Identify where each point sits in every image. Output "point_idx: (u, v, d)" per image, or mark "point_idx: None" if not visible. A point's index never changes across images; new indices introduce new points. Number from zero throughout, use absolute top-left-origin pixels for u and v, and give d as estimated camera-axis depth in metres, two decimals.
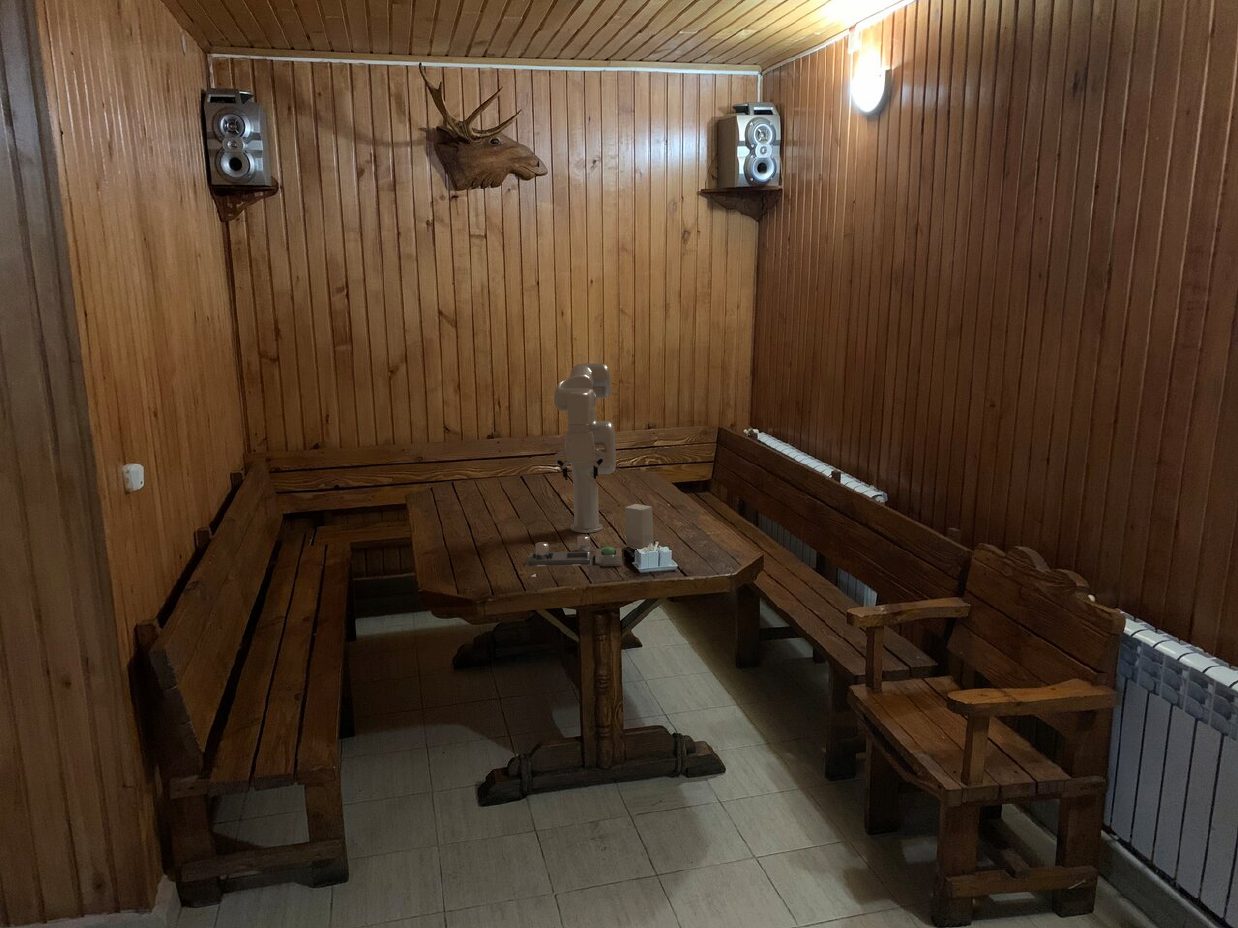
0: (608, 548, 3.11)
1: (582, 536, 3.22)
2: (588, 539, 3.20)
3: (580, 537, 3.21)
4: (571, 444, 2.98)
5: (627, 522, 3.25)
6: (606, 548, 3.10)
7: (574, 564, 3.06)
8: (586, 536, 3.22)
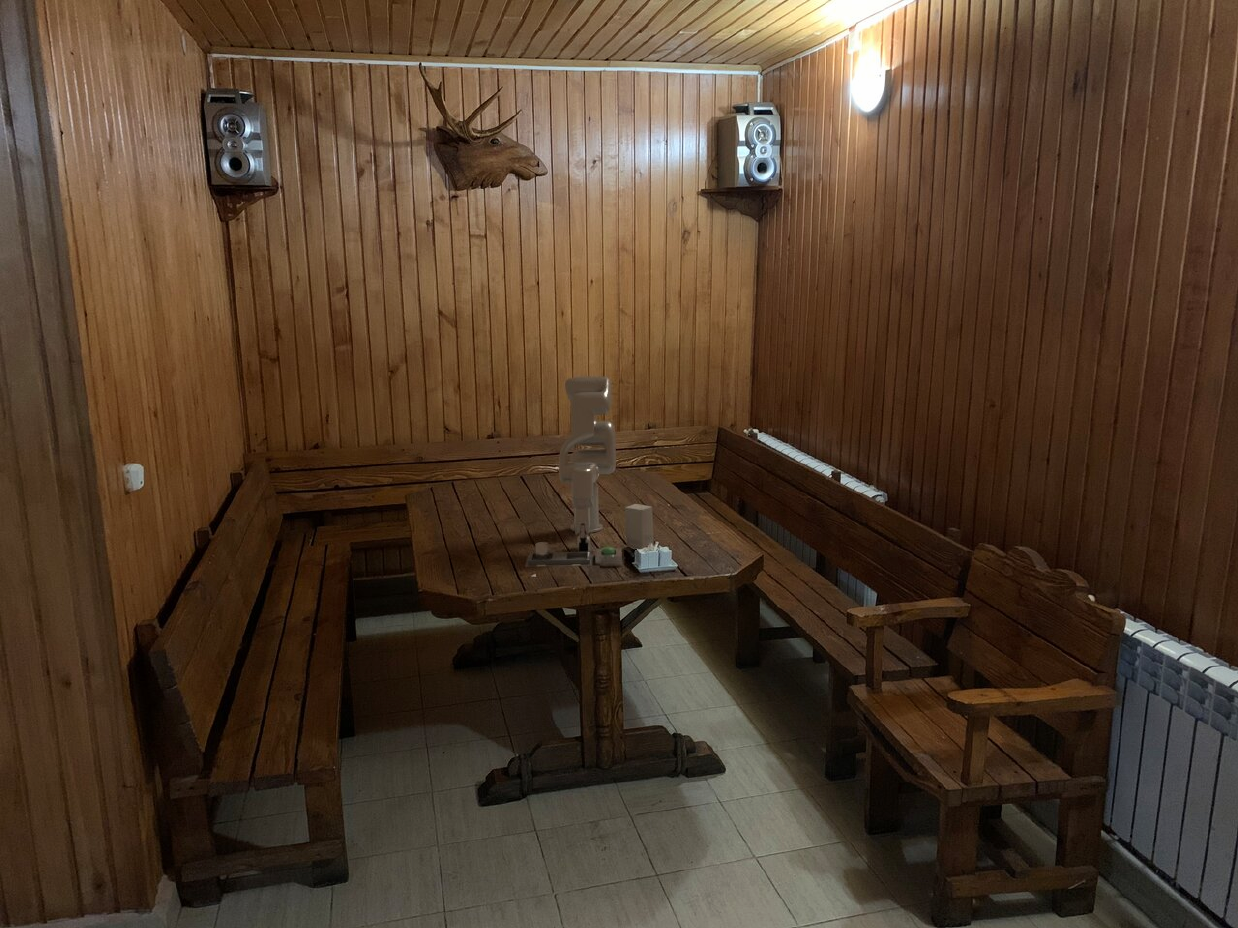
0: (608, 548, 3.11)
1: None
2: (588, 539, 3.20)
3: None
4: (589, 517, 3.17)
5: (627, 522, 3.25)
6: (606, 548, 3.10)
7: (574, 564, 3.06)
8: None
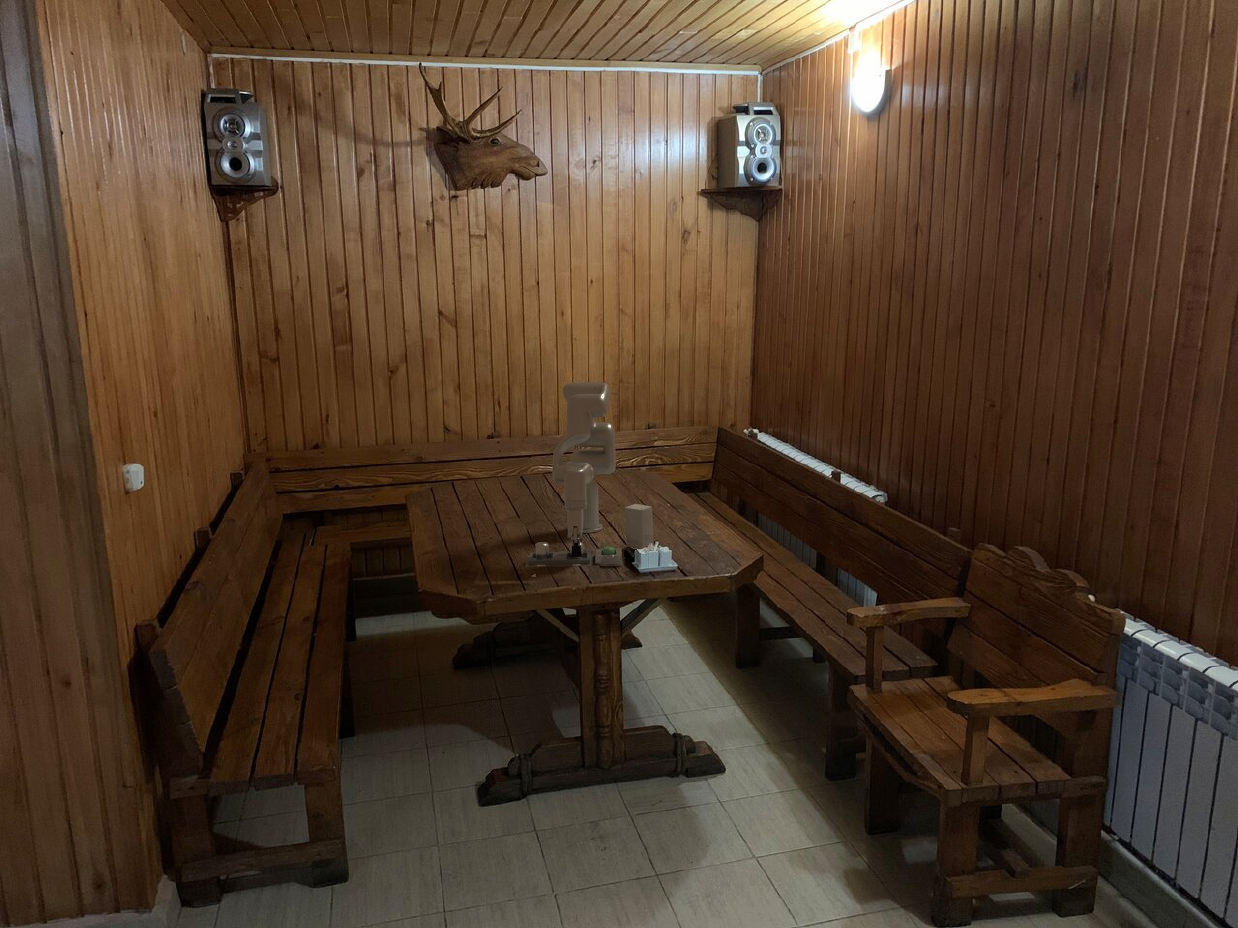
0: (608, 548, 3.11)
1: None
2: (581, 545, 3.09)
3: None
4: (582, 519, 3.05)
5: (627, 522, 3.25)
6: (606, 548, 3.10)
7: (574, 564, 3.06)
8: None
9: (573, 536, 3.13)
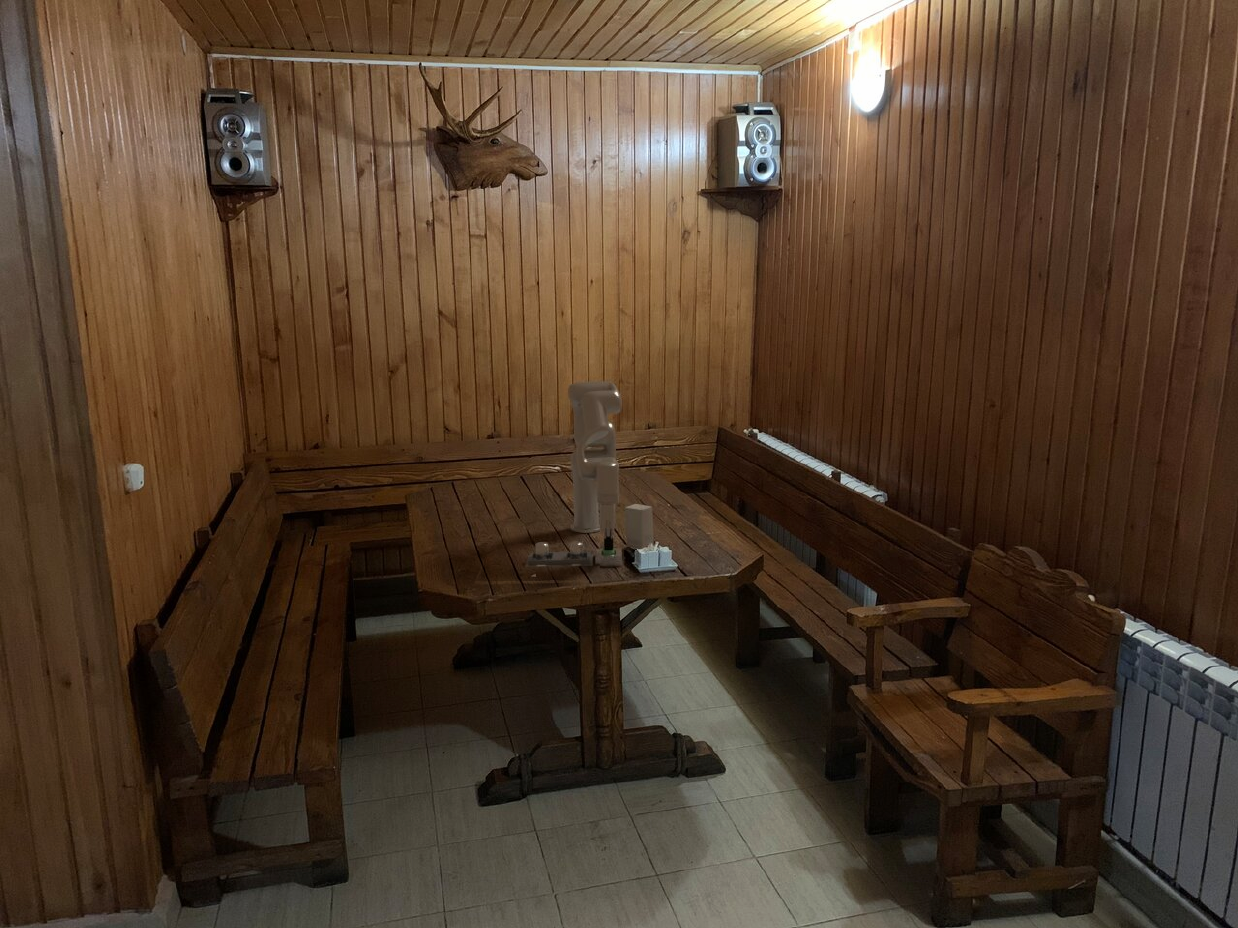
0: None
1: (575, 542, 3.11)
2: (581, 546, 3.09)
3: (573, 543, 3.10)
4: (614, 513, 3.05)
5: (627, 522, 3.25)
6: None
7: (574, 564, 3.06)
8: (579, 542, 3.10)
9: None
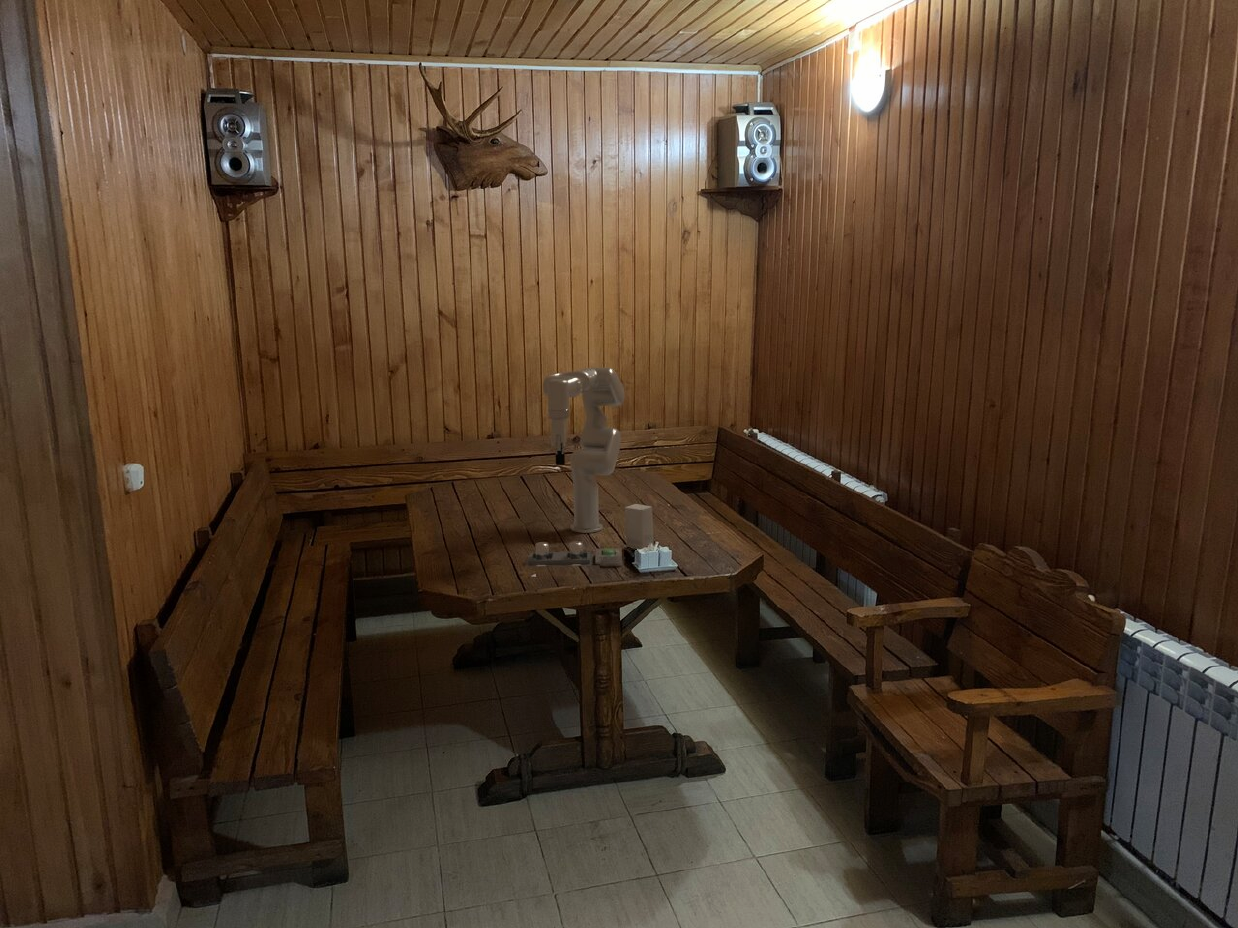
0: (608, 550, 3.11)
1: (575, 542, 3.11)
2: (579, 546, 3.09)
3: (572, 543, 3.10)
4: (565, 429, 3.17)
5: (627, 522, 3.25)
6: (606, 551, 3.11)
7: (574, 564, 3.06)
8: (579, 542, 3.10)
9: None
